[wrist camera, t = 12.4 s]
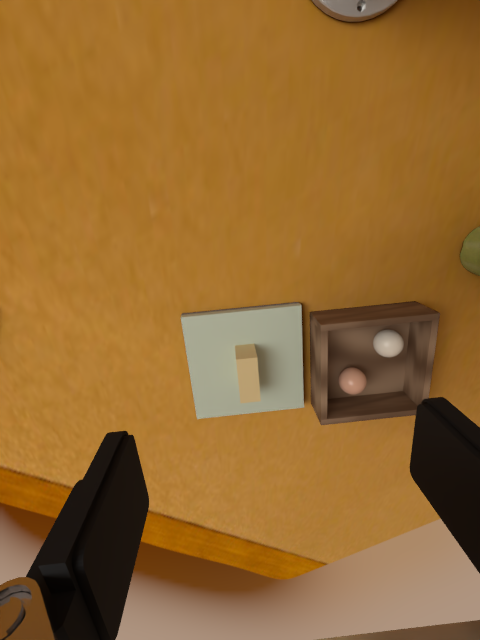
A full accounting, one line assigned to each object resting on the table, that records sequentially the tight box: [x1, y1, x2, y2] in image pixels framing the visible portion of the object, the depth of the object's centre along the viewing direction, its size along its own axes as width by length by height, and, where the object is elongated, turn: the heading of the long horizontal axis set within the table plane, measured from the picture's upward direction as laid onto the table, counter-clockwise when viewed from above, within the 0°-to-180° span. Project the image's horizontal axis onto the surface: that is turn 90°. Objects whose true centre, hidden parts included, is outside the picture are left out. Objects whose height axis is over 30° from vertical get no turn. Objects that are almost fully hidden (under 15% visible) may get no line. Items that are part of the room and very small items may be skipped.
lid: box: [181, 303, 304, 419], centre depth 40 cm, size 15×15×5 cm
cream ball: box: [373, 329, 404, 357], centre depth 40 cm, size 4×4×4 cm
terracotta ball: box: [338, 367, 367, 395], centre depth 42 cm, size 4×4×4 cm
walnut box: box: [310, 301, 440, 425], centre depth 41 cm, size 14×14×5 cm
